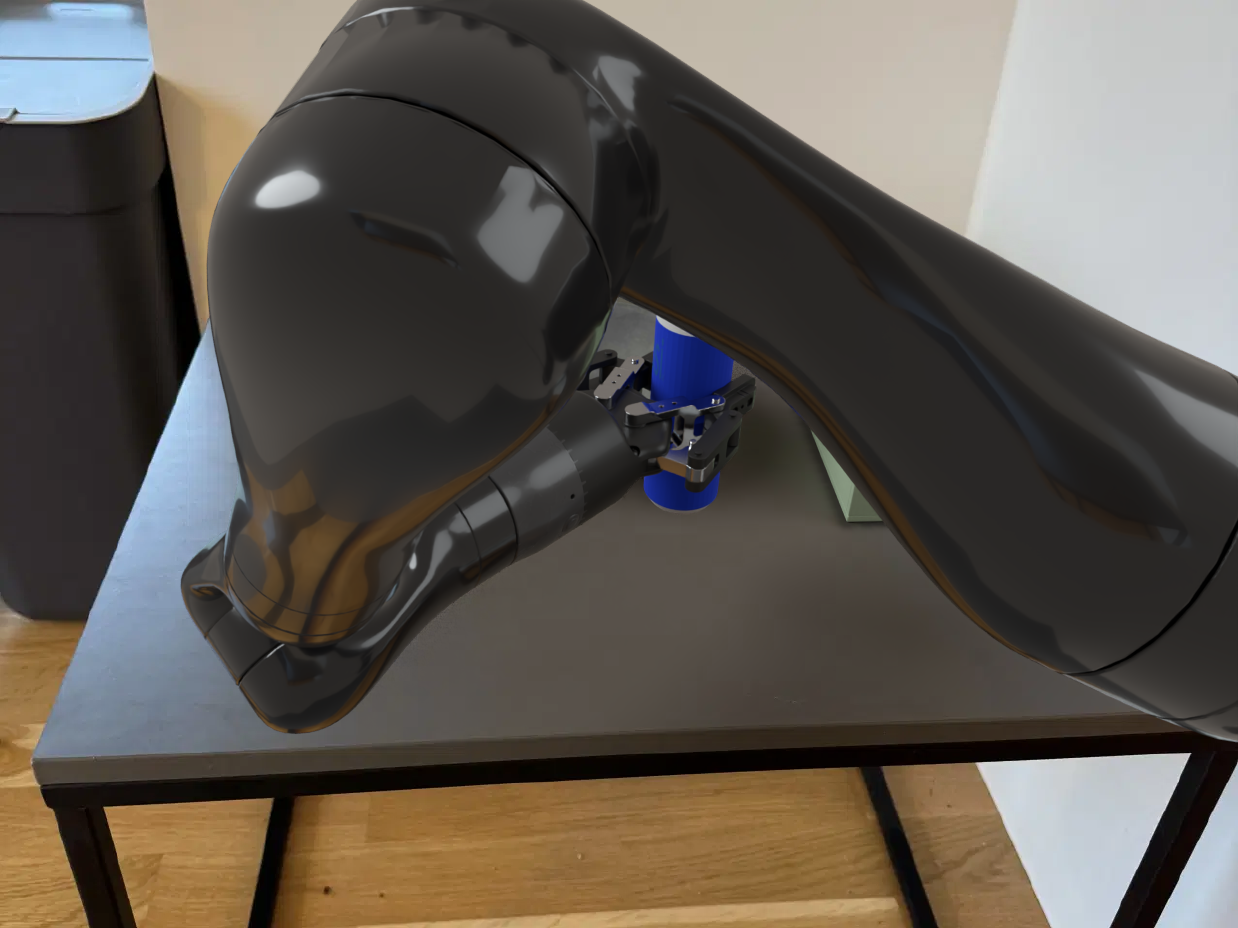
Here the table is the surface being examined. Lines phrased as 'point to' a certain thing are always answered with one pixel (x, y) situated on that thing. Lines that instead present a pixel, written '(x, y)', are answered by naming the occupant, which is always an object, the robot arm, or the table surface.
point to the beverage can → (694, 375)
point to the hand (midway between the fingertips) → (714, 371)
